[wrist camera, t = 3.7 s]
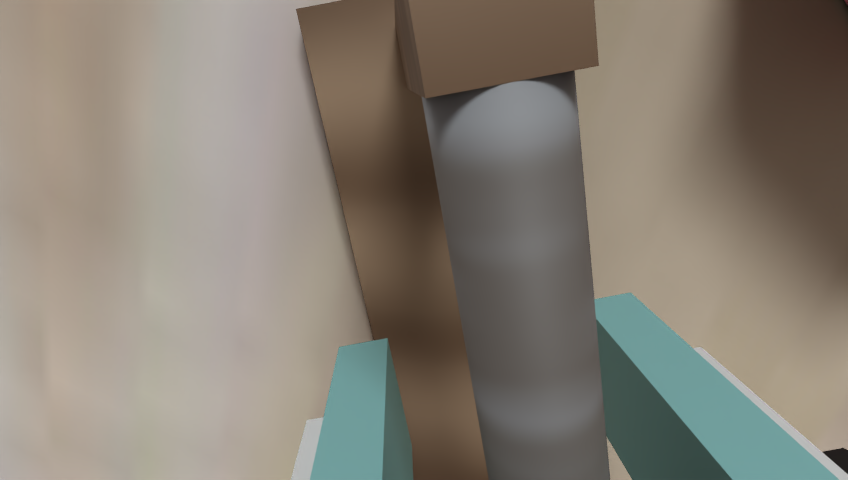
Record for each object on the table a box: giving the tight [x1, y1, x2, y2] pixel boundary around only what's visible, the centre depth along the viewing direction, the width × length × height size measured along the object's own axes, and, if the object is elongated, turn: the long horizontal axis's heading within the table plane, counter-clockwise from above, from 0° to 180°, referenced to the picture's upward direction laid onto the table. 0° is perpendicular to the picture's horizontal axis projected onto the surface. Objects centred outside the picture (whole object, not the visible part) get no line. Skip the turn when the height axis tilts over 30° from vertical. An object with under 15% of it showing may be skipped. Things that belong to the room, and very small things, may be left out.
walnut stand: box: [296, 0, 610, 480], centre depth 15 cm, size 24×8×13 cm, turn 10°
